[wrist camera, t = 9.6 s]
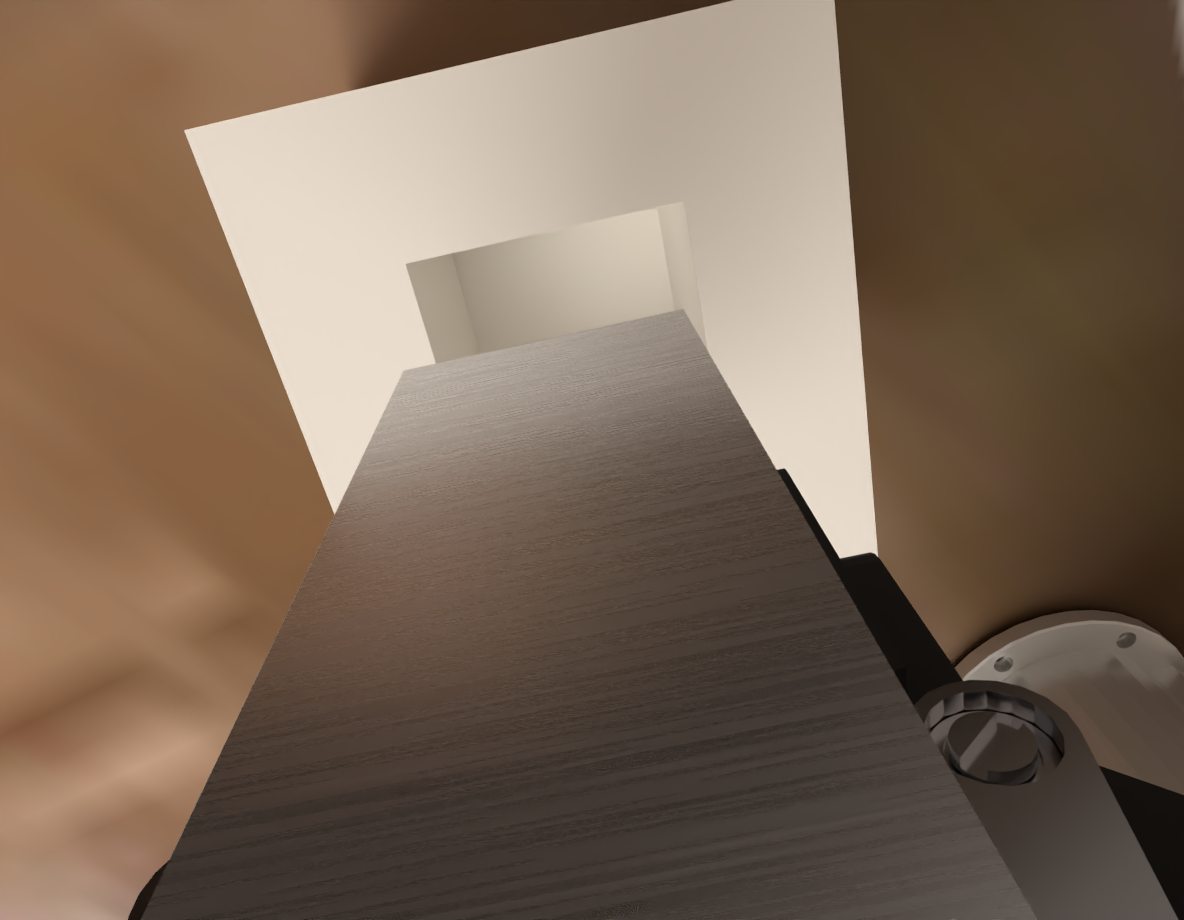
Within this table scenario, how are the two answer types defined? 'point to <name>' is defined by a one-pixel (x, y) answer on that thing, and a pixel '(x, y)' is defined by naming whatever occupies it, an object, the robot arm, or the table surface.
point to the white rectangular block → (578, 679)
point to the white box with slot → (569, 227)
